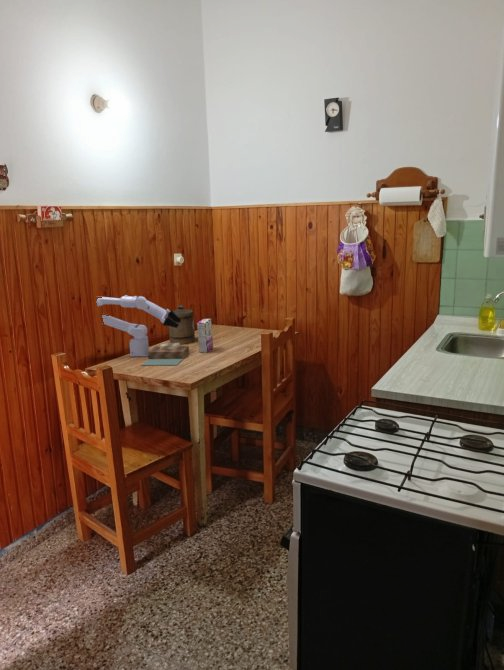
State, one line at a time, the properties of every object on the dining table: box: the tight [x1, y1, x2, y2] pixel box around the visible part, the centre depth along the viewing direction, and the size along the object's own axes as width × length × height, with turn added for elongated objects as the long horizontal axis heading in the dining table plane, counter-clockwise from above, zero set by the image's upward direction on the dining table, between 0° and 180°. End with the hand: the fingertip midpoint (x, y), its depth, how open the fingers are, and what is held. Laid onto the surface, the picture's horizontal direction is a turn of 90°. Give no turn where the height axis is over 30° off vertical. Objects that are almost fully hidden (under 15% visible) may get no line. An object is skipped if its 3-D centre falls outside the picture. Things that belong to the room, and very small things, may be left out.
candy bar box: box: [196, 318, 214, 354], centre depth 259 cm, size 11×5×16 cm, turn 168°
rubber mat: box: [141, 358, 184, 367], centre depth 239 cm, size 18×11×1 cm, turn 83°
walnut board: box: [148, 345, 190, 360], centre depth 250 cm, size 18×12×4 cm, turn 83°
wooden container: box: [168, 304, 196, 345], centre depth 282 cm, size 15×15×22 cm
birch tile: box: [159, 342, 181, 350], centre depth 252 cm, size 9×6×2 cm, turn 83°
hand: (179, 323), depth 254 cm, fingers open, 7 cm apart
